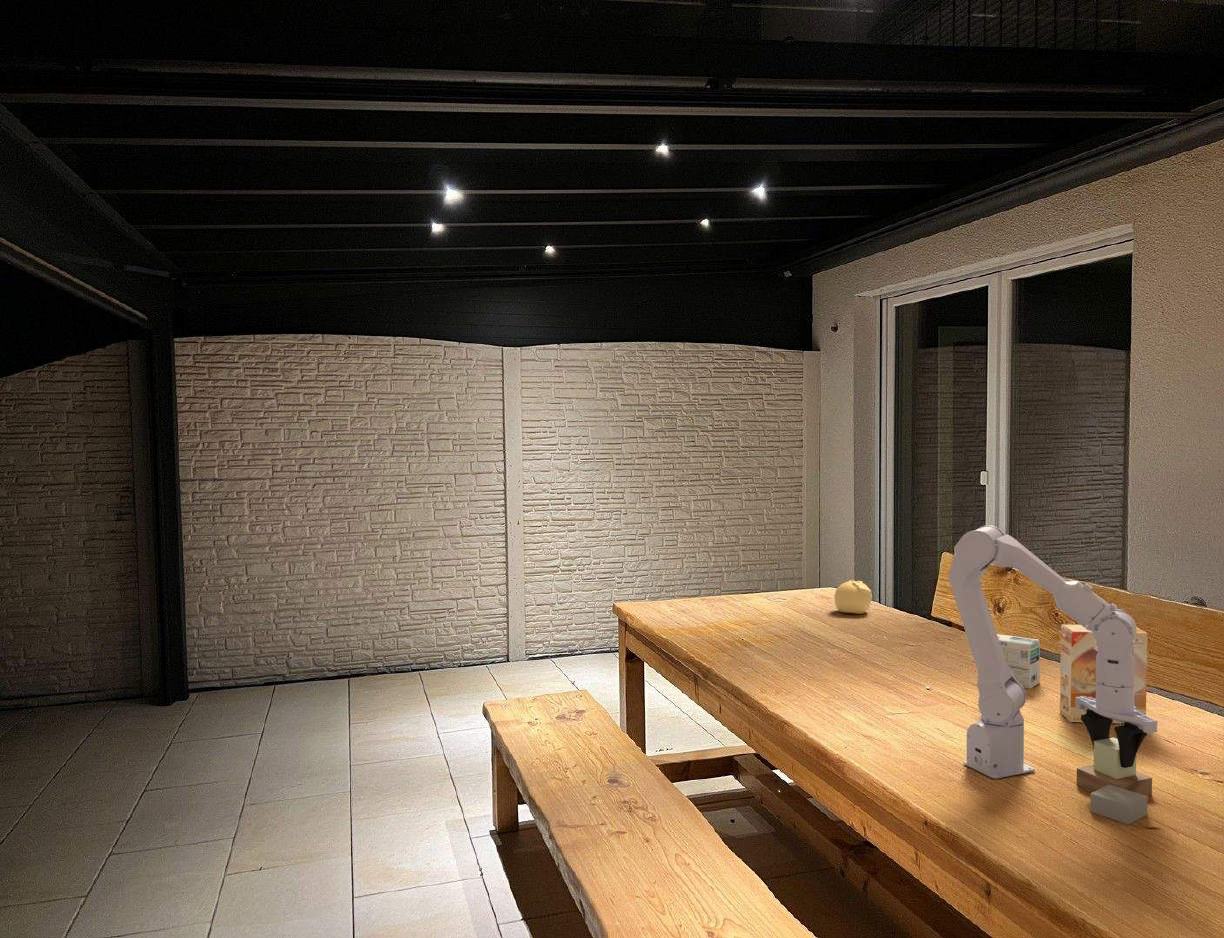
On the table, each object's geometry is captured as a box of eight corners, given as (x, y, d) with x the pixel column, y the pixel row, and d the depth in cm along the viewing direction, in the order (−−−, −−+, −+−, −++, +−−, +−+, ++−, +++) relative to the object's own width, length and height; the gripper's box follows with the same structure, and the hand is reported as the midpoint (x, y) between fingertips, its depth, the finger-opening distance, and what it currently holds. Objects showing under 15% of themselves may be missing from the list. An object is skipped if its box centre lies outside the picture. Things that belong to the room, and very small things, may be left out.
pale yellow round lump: (876, 615, 294) (876, 582, 293) (839, 616, 294) (839, 583, 293) (866, 608, 305) (866, 576, 305) (830, 609, 305) (830, 577, 305)
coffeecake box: (1070, 723, 189) (1071, 630, 188) (1058, 712, 196) (1059, 623, 195) (1147, 725, 187) (1148, 632, 186) (1132, 714, 194) (1133, 624, 193)
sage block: (1116, 779, 152) (1117, 749, 152) (1093, 769, 156) (1094, 741, 156) (1135, 774, 154) (1136, 746, 153) (1112, 765, 158) (1113, 737, 158)
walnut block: (1116, 802, 150) (1116, 784, 150) (1076, 784, 157) (1076, 767, 157) (1151, 795, 153) (1152, 777, 152) (1111, 777, 160) (1111, 761, 160)
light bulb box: (1040, 683, 217) (1041, 638, 217) (1031, 689, 212) (1031, 644, 212) (995, 675, 225) (995, 632, 224) (984, 681, 220) (985, 637, 219)
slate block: (1128, 824, 142) (1129, 805, 142) (1090, 811, 147) (1090, 793, 147) (1147, 814, 145) (1147, 796, 145) (1108, 802, 150) (1109, 784, 150)
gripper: (1171, 691, 149) (1170, 772, 149) (1096, 669, 162) (1095, 744, 163) (1139, 696, 146) (1138, 779, 147) (1066, 673, 160) (1065, 749, 160)
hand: (1113, 761), depth 155 cm, fingers closed on sage block, 4 cm apart
